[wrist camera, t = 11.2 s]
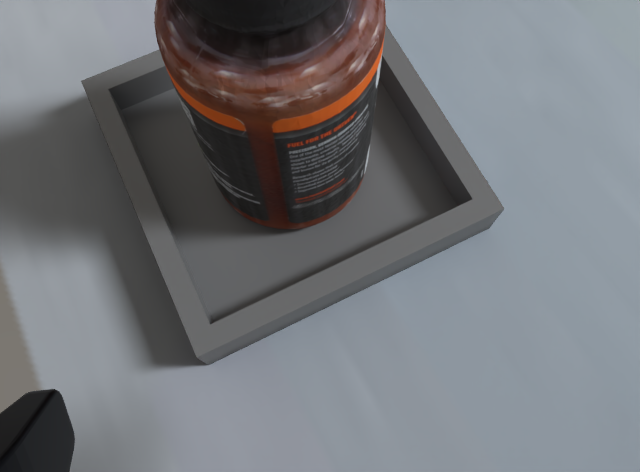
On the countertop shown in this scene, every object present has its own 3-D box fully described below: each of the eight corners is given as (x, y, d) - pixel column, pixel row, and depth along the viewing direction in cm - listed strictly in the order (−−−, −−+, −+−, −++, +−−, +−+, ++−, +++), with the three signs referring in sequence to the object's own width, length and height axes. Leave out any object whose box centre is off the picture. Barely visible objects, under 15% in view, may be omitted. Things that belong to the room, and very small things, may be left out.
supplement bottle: (394, 138, 23) (455, -122, 12) (316, 263, 21) (310, 87, 11) (266, 72, 24) (221, -221, 13) (182, 187, 22) (54, -44, 12)
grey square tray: (489, 228, 22) (504, 208, 20) (208, 365, 21) (196, 357, 19) (350, 6, 26) (352, -28, 24) (100, 109, 24) (81, 81, 22)
